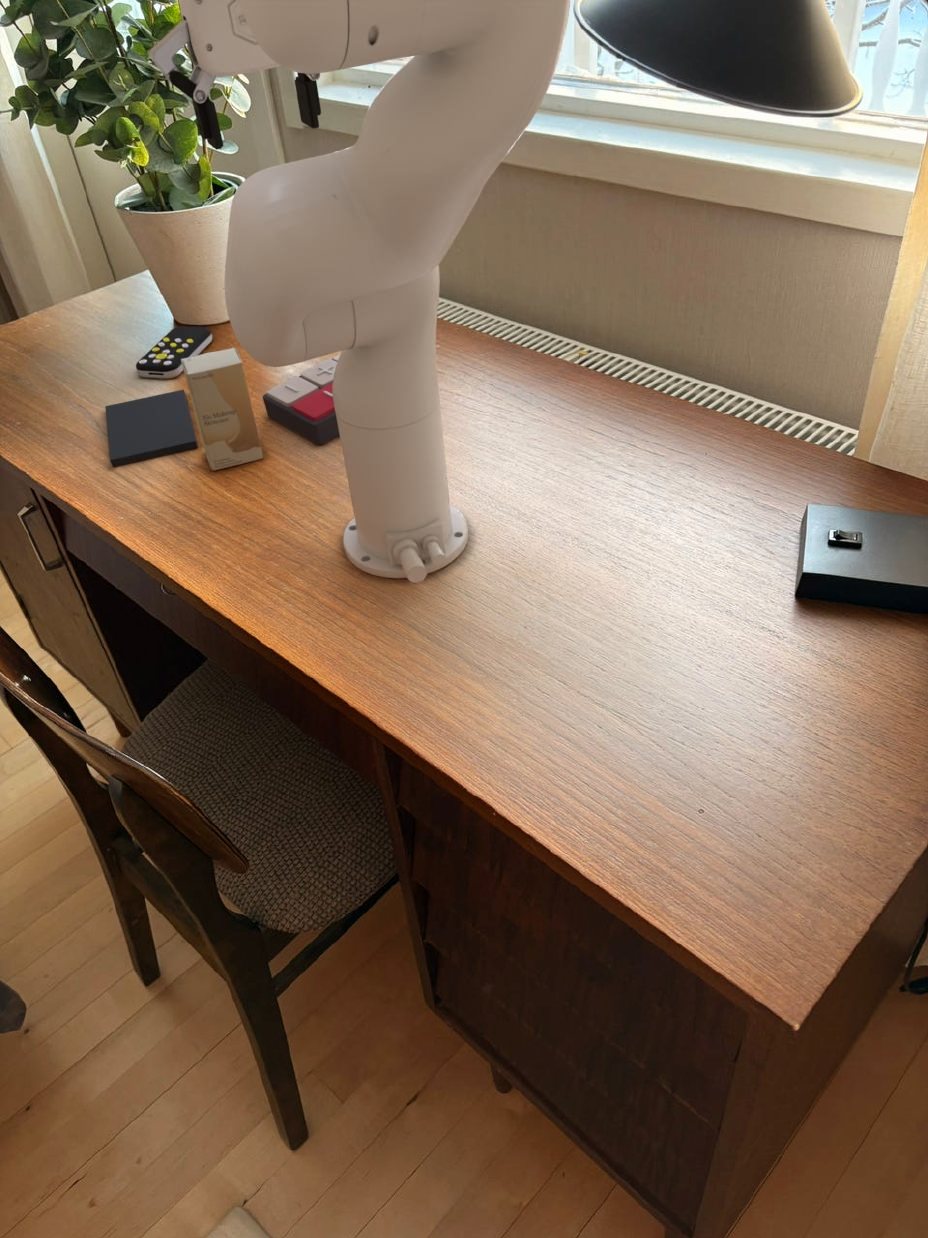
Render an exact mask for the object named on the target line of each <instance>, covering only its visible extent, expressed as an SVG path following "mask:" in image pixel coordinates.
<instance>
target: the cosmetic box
mask: <svg viewBox="0 0 928 1238" xmlns="http://www.w3.org/2000/svg"><path fill="white" fill-rule="evenodd" d="M181 362H182V366H183V373H184V377H185V380H186V384H187V388H188V392H189V396H190V401H191V403H192V407H193V411H194V415H195V418H196V423H197V427H198V430H199V434H200V439H201V441H202V446H203V449H204V452H205V453H204V454H205V457H206V459H207V462H208V465H209V467H210V469H211V471H219V470H222V469H226V468H231V467H235V466H239V465H243V464H247V463H250V462H255V461H259V460H262V459H264V455H263V451H262V446H261V440H260V437H259V433H258V428H257V424H256V423H257V422H256V419H255V414H254V410H253V404H252V400H251V396H250V392H249V388H248V382H247V378H246V373H245V370H244V369H245V368H244V364H243V360H242V359H241V356H240V354H239V351H238V350H237V348H236V347H230V348H227V349H221V350H218V351H211V352H206V353H202V354H199V355H198V356H194V357H189V358H184V359H181Z"/></svg>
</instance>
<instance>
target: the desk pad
mask: <svg viewBox="0 0 928 1238" xmlns="http://www.w3.org/2000/svg"><path fill="white" fill-rule="evenodd" d="M104 407H105V419H106V429H107V441H108V452H109V462H110V464H111V466H112V467H113V468H115V467H119V466H123V465H127V464H133V463H138V462H141V461H147V460H150V459H154V458H159V457H163V456H168V455H172V454H177V453H180V452H185V451H189V450H190V451H191V450H194V449H198V448H199V446H198V443H197V438H196V433H195V429H194V425H193V421H192V417H191V412H190V407H189V403H188V399H187V395H186V392H185V389H179V390H174V391H170V392H165V393H161V394H156V395H151V396H147V397H141V398H137V399H133V400H128V401H123V402H119V403H114V404H109V405H105V406H104Z"/></svg>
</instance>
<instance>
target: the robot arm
mask: <svg viewBox="0 0 928 1238" xmlns="http://www.w3.org/2000/svg"><path fill="white" fill-rule="evenodd" d="M178 3H179V11H180V16H181V21H180V22H179V23H178V24H177V25H176V26H174V28H172V29H171V30H170V31H169V32H168V33H167V34H165V36H164V37H163V38H161V39H160V40H159V41H158V42H157V43H156V44H155V45H154V46H153V47H152V48H151V49H150V51H149V57H150V59H151V60H152V61H153V63H154V64H155V66H156V67H157V68H158V69H159V70H160V72H161V73H162V74H163V75H164V77H165V78H166V80H167V82H169V84H171V85H173V86H174V87H175V88H177V89H178V90H180V91H181V92H182V93H184V94H185V95H186V96H187V97H189V98H190V99H191V102H192V106H193V110H194V114H195V119H196V123H197V127H198V131H199V134H200V137H201V138H202V139H203V140H206V142H207V143H208V145H210V146H211V147H212V148H213V149H215V150H221V149H222V148H224V141H223V136H222V131H221V128H220V123H219V118H218V114H217V109H216V106H215V102H213V101H212V100H211V99H210V96H209V94H210V92H211V89H212V87H213V85H214V83H215V80H216V79H217V78H227V77H232V76H233V77H234V76H239V75H244V74H249V73H255V72H259V71H264V70H271V69H274V68H280V67H282V68H284V69H286V70H288V71H290V72H295V73H297V76H294V77H295V79H294V87H295V93H296V98H297V99H296V100H297V104H298V105H297V106H298V109H299V110H298V111H299V117H300V121H301V123H303V124H304V125H306V126H308V127H309V128H311V129H315V130H316V129H319V128H320V122H319V116H321V115H322V108H321V102H320V101H321V100H320V95H319V94H320V93H319V88H318V83H317V82H318V81H319V79H320V77H321V74H323V73H330V72H335V71H340V70H346V69H352V68H357V67H362V66H367V65H372V64H378V63H384V62H388V61H394V60H399V59H405V58H406V59H407V58H411V59H409V60H408V61H407V62H406V63H405V64H404V65H403V66H402V67H401V68H399V69H398V70H397V71H396V72H395V73H394V74H393V75H392V76H391V77H390V78H389V79H388V80H387V81H386V83H384V85H383V86H382V87H381V89H380V90H379V91H378V93H377V94H376V95H375V97H374V98H373V100H372V102H371V103H370V105H369V107H368V109H367V111H366V112H365V115H364V117H363V120H362V124H361V127H360V130H359V135H358V138H357V140H356V142H355V143H354V144H353V145H352V146H349V147H346V148H343V149H340V150H337V151H333V152H330V153H326V154H320V155H317V156H316V155H315V156H312V157H307V158H303V159H299V160H293V161H290V162H286V163H281V164H277V165H273V166H270V167H267V168H264V169H261V170H259V171H257V172H255V173H253V174H252V175H250V176H248V177H247V178H245V180H244V181H242V182H241V183H240V185H238V187H237V189H236V190H235V192H234V194H233V197H232V201H231V206H230V210H229V211H230V212H229V219H228V220H229V221H228V229H227V243H226V253H225V264H224V265H225V266H224V280H223V281H224V283H223V284H224V299H225V306H226V311H227V312H226V313H227V317H228V319H229V320H228V321H229V323H230V325H231V329H232V331H233V333H234V335H235V338H236V339H237V342H238V343H239V344H240V346H241V347H242V348H243V350H244V351H245V352H246V353H247V355H249V356H250V358H252V359H253V360H254V361H256V362H258V363H259V364H262V365H264V366H266V367H272V368H281V367H287V366H292V365H297V364H299V363H303V362H307V361H310V360H313V359H317V358H321V357H324V356H328V355H331V354H332V355H333V354H335V353H338V352H340V353H339V354H340V357H339V359H338V362H337V365H336V369H335V372H334V378H333V390H332V391H333V401H334V407H335V412H336V418H337V423H338V429H339V434H340V435H339V439H340V445H341V450H342V455H343V461H344V462H343V463H344V465H345V466H344V467H345V473H346V478H347V484H348V488H349V489H348V490H349V493H350V494H349V495H350V501H351V506H352V512H353V515H354V516H353V518H352V519H351V520H350V521H349V522H348V523H347V525H346V526H345V528H344V532H343V536H342V544H343V548H344V553H345V556H346V557H347V559H348V560H349V562H350V563H352V565H354V567H356V568H357V569H359V570H360V571H362V572H364V573H367V574H370V575H373V576H377V577H380V578H381V577H382V578H387V579H388V578H390V579H407V580H408V581H409V582H410V583H414V584H417V583H421V582H422V581H424V580H425V579H426V578H427V575H428V574H430V573H435V572H436V571H438V570H441V569H442V568H444V567H446V566H447V565H450V563H452V562H453V561H454V560H456V559H457V558H458V557H459V556H460V555H461V554H462V552H463V551H464V550H465V548H466V545H467V544H468V539H469V529H468V522H467V520H466V518H465V516H464V515H463V514H462V512H461V511H460V510H459V509H458V508H457V507H455V506H454V505H452V504H451V503H450V502H451V501H450V493H449V491H450V490H449V482H448V481H449V480H448V471H447V461H446V450H445V439H444V431H443V421H442V419H443V418H442V410H441V401H440V400H441V399H440V398H441V397H440V387H439V377H438V363H437V324H438V323H437V322H438V321H437V320H438V310H439V301H440V299H439V298H440V285H441V284H440V283H441V282H440V281H441V280H440V279H441V278H440V277H441V275H440V265H439V264H440V263H441V262H442V260H444V257H445V256H446V254H447V253H448V252H449V250H450V249H451V246H452V245H453V243H454V241H455V240H456V238H457V236H458V234H459V233H460V231H461V229H462V227H463V226H464V224H465V222H466V221H467V220H468V219H467V218H469V215H470V214H471V212H472V210H473V208H474V207H475V205H476V203H477V202H478V199H479V197H480V195H481V193H482V191H483V189H484V187H485V186H486V184H487V183H488V181H489V179H491V176H493V174H494V173H495V172H496V170H497V168H498V167H499V166H500V164H501V163H502V162H503V160H505V158H506V157H507V155H508V154H509V153H510V151H511V150H512V149H513V148H514V146H515V145H516V143H517V142H518V141H519V139H520V138H521V137H522V135H523V134H524V132H525V131H526V129H527V128H528V127H529V125H530V123H531V122H532V120H533V118H534V117H535V115H536V113H537V112H538V110H539V108H540V106H542V105H541V104H542V103H543V101H544V99H545V97H546V95H547V93H548V91H549V89H550V87H551V84H552V81H553V79H554V76H555V74H556V71H557V67H558V65H559V61H560V57H561V55H562V54H561V53H562V51H563V50H562V49H563V47H564V43H565V38H566V34H567V30H568V29H567V28H568V22H569V17H570V16H569V15H570V7H571V0H178ZM185 46H186V47H187V51H188V52H187V53H188V55H189V59H190V60H191V63H192V64H193V65H194V66H193V69H192V71H191V73H190V75H189V77H187V76H186V75H184V74H183V73H182V72H181V71H180V69H178V66H177V65H176V64H175V62H174V57H175V55H176V54H177V53H178V52H179V51H180V50H181V49H183V48H184V47H185Z"/></svg>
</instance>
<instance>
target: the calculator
mask: <svg viewBox="0 0 928 1238" xmlns="http://www.w3.org/2000/svg"><path fill="white" fill-rule="evenodd" d="M340 354H341V353H339V354H337V355H335V356H333V357H332V358H326V359H325V360H322V361H321V362H319V363H317V364H315V365H313V366H311V367H309V368H307V369H305V370H304V371H302V372H300V375H299V376H298V375H294V376H292V377H290V378H288V379H286V380H285V381H283V382H281V383H279V384H277V385H275V386H273V387H272V388H269V389H268V390H266V392H265V393H264V394H263V395H262V401H263V404H264V408H265V412H266V414H267V417H268V419H271V420H273V421H275V422H276V423H278V424H279V425H281V426H283V427H285V428H286V429H288V430H290V431H292V432H294V433H296V434H297V435H299V436H301V437H303V438H305V439H307V441H310V442H312V443H313V444H315V445H317V446H323V445H325V444H326V443H328V442H330V441H331V440H334V439H335V438H337V437H339V436H340V434H339V429H338V423H337V418H336V412H335V407H334V401H333V391H332V390H333V378H334V372H335V369H336V365H337V362H338V359H339V357H340Z"/></svg>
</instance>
